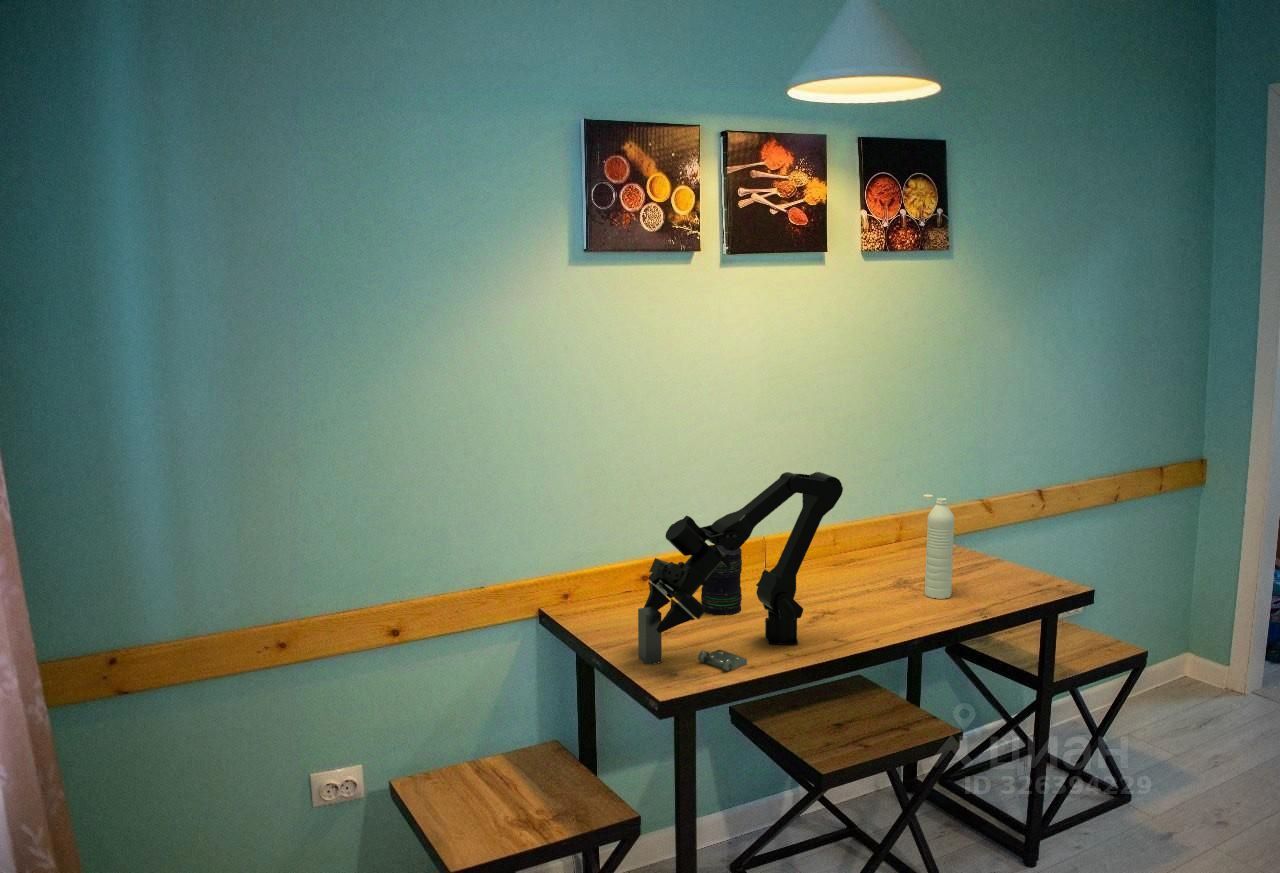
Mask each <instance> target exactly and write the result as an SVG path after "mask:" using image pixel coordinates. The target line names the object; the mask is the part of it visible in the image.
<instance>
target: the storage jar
mask: <svg viewBox="0 0 1280 873" xmlns="http://www.w3.org/2000/svg"><path fill="white" fill-rule="evenodd" d="M714 545H715V544H714ZM715 546H716V547H717V548H718V549H719V550H720V551H721V552H726V553H728V554H730V557H729V560H730V567H727V566H725V565H724V564H722V563H720V564H719V565H718V566H717V568H716V569H715V570H714V571H713V572H712V573H711V575H710V576H709V577H708V578H707V579H706V580H705V581H706V582H707V583H708V584H707V585H706V586H705V587H704V586H702V585H701V594H700V600H701V604H702V605H703V606H704V614H707V613H708V614H707V615H710V614H712V615H711V616H716V615H724V616H723V617H725V615H729V616H733V615H734V616H735V615H737V614H739V613H741V611H742V600H743V595H742V587H741V574H742V570H743V568H742V566H743V559H742V554H743V553H742V550H743V549H742V548H741V547H740V548H739V549H737V550H735V551H729V550H726V549H724V548H722V547H721V546H718V545H715Z"/></svg>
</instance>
